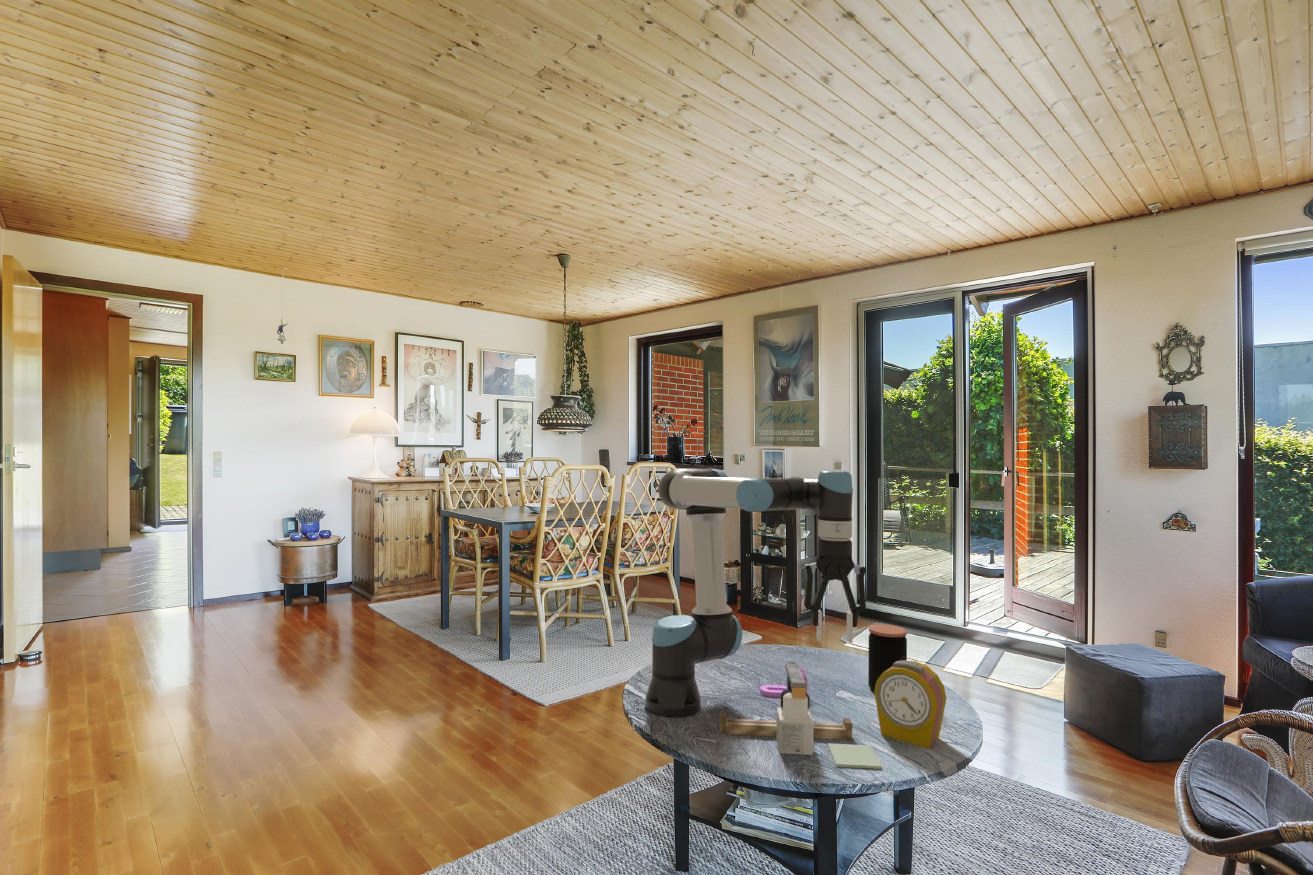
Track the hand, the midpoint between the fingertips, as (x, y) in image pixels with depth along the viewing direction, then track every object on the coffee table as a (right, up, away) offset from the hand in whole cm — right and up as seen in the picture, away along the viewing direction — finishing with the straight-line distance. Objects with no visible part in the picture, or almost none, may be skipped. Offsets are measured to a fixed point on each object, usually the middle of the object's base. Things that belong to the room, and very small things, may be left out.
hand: (834, 640), depth 145 cm
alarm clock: (+22, -28, +12) cm, 37 cm away
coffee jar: (+27, -29, +43) cm, 58 cm away
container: (-8, -27, +6) cm, 29 cm away
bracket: (-4, -28, +39) cm, 48 cm away
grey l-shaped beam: (-8, -24, +6) cm, 26 cm away
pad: (+5, -27, +1) cm, 27 cm away
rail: (-9, -27, +13) cm, 31 cm away
